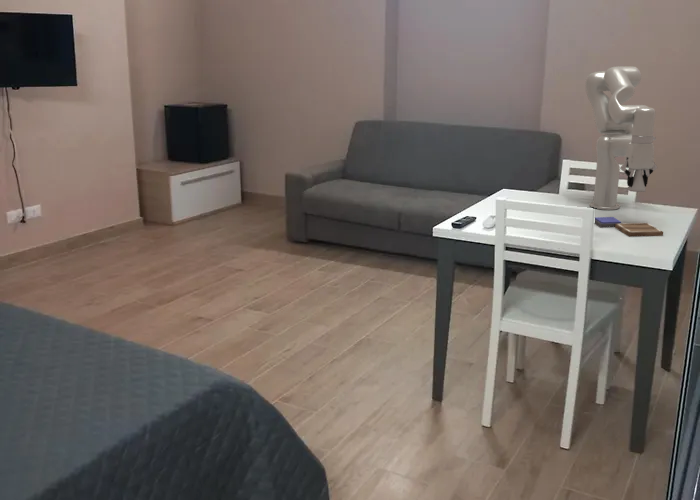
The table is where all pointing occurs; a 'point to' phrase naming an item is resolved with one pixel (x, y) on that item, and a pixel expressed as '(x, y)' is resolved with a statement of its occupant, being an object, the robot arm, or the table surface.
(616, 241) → the table surface
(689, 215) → the table surface
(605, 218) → the ink pad
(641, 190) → the flask
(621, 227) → the marked board
